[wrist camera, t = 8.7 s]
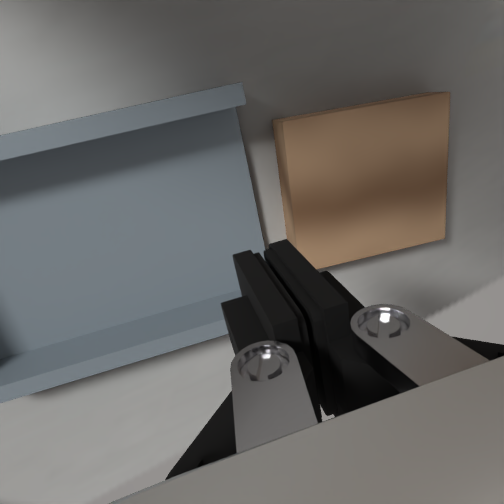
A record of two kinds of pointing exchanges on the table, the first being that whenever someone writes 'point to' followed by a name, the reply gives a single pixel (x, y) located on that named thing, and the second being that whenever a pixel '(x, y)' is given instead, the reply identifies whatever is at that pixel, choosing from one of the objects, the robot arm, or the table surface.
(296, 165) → the tan square slab
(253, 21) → the table surface
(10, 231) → the blue-grey open-ended tray
